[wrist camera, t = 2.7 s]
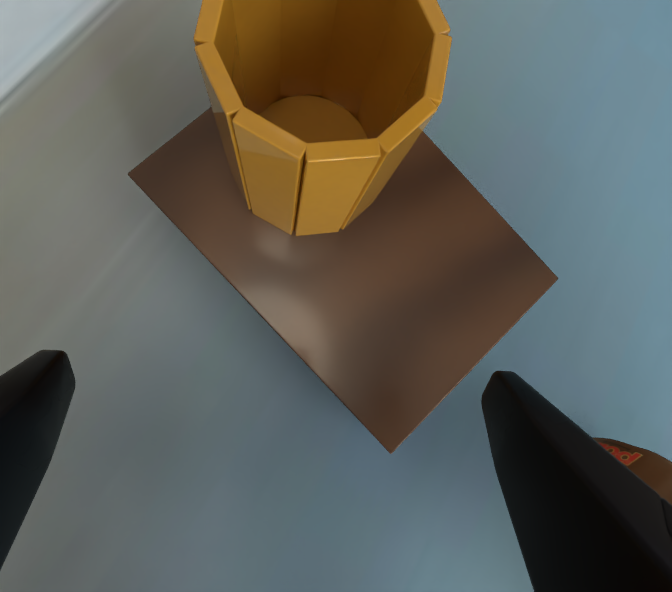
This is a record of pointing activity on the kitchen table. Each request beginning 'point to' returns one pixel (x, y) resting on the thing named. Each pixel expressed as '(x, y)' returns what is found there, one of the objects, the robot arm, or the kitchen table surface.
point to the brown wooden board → (363, 275)
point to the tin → (643, 465)
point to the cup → (319, 99)
